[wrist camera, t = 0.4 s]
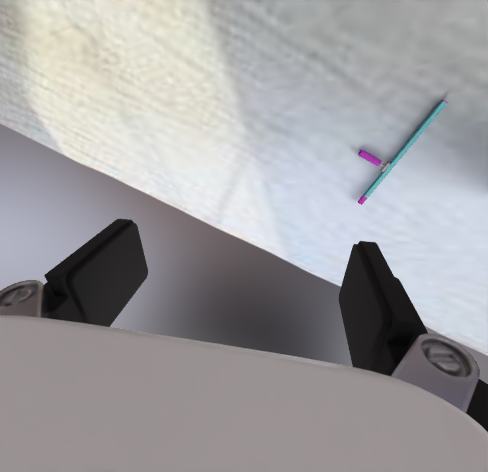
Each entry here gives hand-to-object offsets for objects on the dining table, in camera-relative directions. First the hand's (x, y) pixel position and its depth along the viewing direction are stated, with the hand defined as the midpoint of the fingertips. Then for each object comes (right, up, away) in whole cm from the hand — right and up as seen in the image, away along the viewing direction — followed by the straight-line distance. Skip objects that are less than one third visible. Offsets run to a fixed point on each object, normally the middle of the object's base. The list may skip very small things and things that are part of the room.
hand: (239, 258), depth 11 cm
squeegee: (+19, +13, +24) cm, 33 cm away
